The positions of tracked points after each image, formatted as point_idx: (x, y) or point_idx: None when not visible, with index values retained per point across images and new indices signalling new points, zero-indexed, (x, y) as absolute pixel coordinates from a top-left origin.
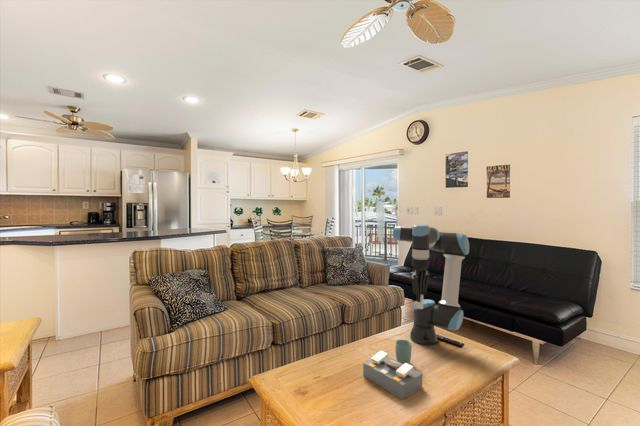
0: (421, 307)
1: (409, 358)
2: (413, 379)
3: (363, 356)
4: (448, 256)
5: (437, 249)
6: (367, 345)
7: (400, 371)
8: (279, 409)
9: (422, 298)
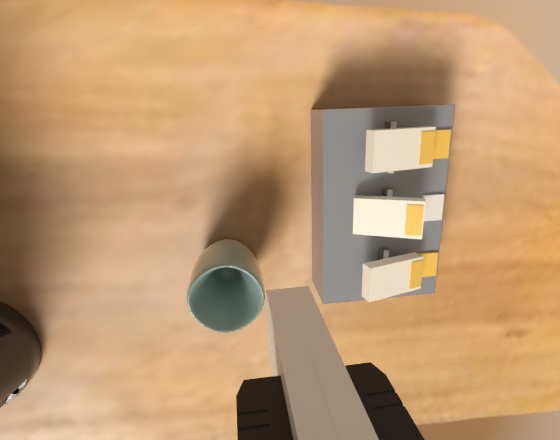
0: (311, 298)
1: (227, 242)
2: (385, 107)
3: None
4: None
5: None
6: None
7: (428, 149)
8: None
9: (320, 395)
